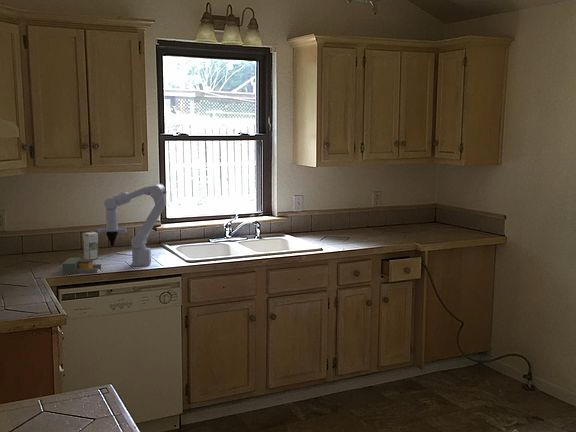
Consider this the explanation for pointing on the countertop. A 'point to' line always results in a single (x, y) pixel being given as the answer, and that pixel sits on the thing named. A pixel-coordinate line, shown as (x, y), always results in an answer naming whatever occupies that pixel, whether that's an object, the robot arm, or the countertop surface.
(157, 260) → the countertop surface
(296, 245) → the countertop surface
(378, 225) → the countertop surface
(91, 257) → the syrup box
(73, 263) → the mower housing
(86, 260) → the orange-topped grey cube
